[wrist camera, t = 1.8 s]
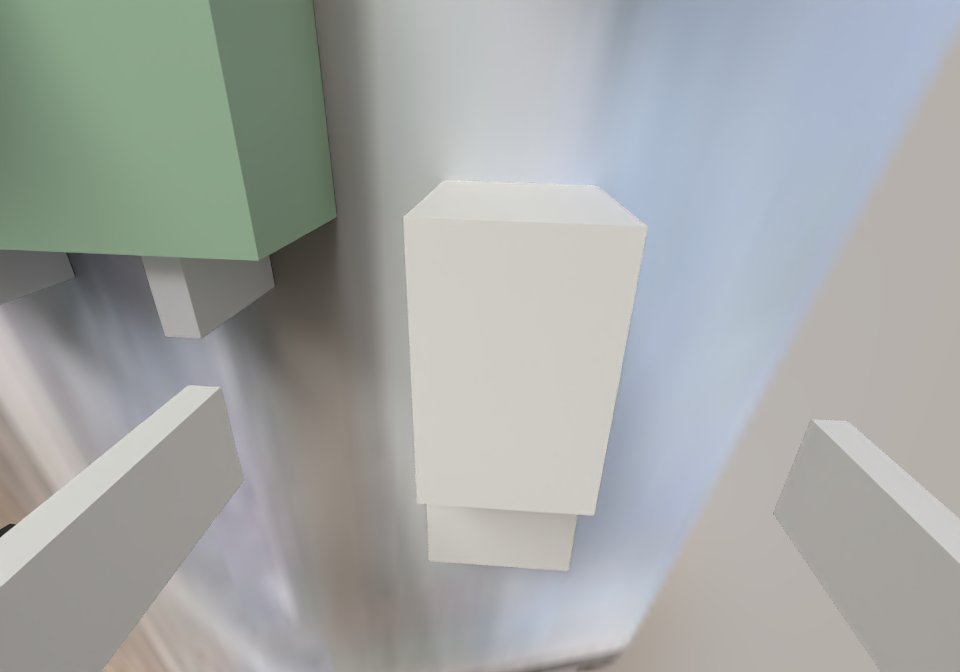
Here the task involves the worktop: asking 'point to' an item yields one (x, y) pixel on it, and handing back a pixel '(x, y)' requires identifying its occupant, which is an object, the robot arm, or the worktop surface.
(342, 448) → the worktop surface
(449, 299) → the stepped white pillar
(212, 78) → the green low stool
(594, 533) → the worktop surface
